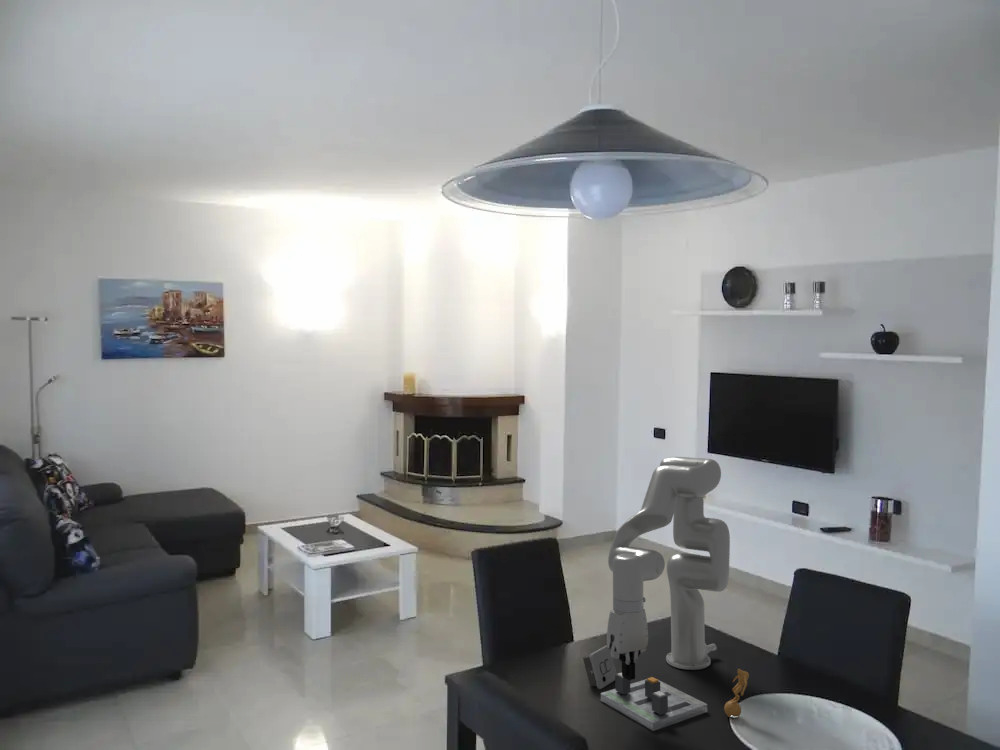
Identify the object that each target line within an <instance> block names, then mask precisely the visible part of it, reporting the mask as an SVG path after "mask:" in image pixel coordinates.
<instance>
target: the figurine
mask: <svg viewBox="0 0 1000 750" xmlns="http://www.w3.org/2000/svg"><path fill="white" fill-rule="evenodd" d="M749 677H750V674H749V672H747V671H745V670H742V669H740V668H738V669H737V675H736V676H735V677H734V679H733V680H732V683H735V681H736V680H737V679H738V682H737V683H736V685H734V687H733V688H731V689H732V692H733V694H734V695H735V697H733V698H731V699H730V700H728V701H726V702H725V704H724V708H723V710H724V713H725V715H726V716H727V717H729V718H731V717H730V716H731V715H733V716H738V717H739V716H740V715H741V713H742V707H741V705H740V704H739V702H738V701H740V696H741V697H743V696H744V693H745V690H746V688H747V686H748V679H749ZM739 693H740V695H739Z"/></svg>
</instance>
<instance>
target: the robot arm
mask: <svg viewBox="0 0 1000 750" xmlns="http://www.w3.org/2000/svg"><path fill="white" fill-rule="evenodd" d="M721 469H722V468H721V466H720V464H719V463H718V462H717V461H716V460H715V459H711V458H700V457H689V456H688V457H687V456H686V457H685V456H668V457H665V458H663V459H662V460H661V461H660V463H659V466H658V467H656V468H655V469H654V470H653V472H652V474H651V478H650V481H649V482H648V483H649V484H648V487H647V490H646V493H645V496H644V500H643V501H642V505H641V508H640V510H639V511H638V512H636V513H635V514H633V515H632V516H631V517H629V518H628V519H627V520H626V521H625V522H624V523H623V524H622V525H621V526H620V527H619V528H618V530H617V531H616V532H615V535H614V538H613V540H612V543H611V545H610V546H611V547H610V548H609V549H610V550H609V552H608V553H609V554H608V558H607V561H608V567H609V570H610V571H611V572H612V609H611V610H610V611H609V615H608V621H607V629H606V630H607V631H606V646H607V648H608V649H610V650H611V653H610V657H612V658H613V660H614V659H616V660H617V659H618V660H619V661H620V662H621V672H622V677H624V678H626V679H628V680H630V681H632V680H635V679H636V663H638V660H639V659H638V658H639V656H640V655H641V654H643V653H644V652H646V650H647V646H648V643H649V629H648V619H647V614H646V609H645V608H644V603H646V597H645V596H644V582H648V581H653V580H657V579H658V578H659V577H661V575H662V574H663V572H664V569H665V565H666V574H667V580H668V585H669V586H668V587H669V594H670V634H671V636H670V637H671V639H670V641H671V642H670V643H671V651H670V652H669V653H667V654H666V656H665V661H666V662H667V664H668V665H670V666H671V667H674V668H675V669H676V668H677V669H682V670H687V671H690V670H691V671H697V670H703V669H706V668H709V666H710V665H711V663H712V662H711V657H710V656H709V655H708V654H709V653H710V652H713V651H716V650H717V645H716V644H715V643H711V644H708V645H707V643H706V641H705V640H706V638H705V637H706V636H705V634H706V633H705V625H706V623H705V601H704V598H703V596H702V594H701V592H700V590H703V591H709V592H716V593H717V592H718V593H719V592H723V591H725V590H726V588H727V587H728V585H729V579H730V556H731V555H730V553H731V551H730V550H731V549H730V548H731V545H730V544H731V543H730V542H731V540H730V539H731V537H730V531H729V527H728V525H727V523H726V522H725V521H723V520H722V519H719V518H715V517H713V518H712V517H706V516H705V513H704V512H705V511H704V505H705V504H704V503H705V501H704V498H703V497H704V496H705V495H707V494H709V493H711V492H713V490H715V489H716V488H717V487H718V485H719V484H720V482H721V478H722V477H721V476H722V470H721ZM672 520H673V522H672ZM671 523H673V525H672V530H673V531H672V533H673V534H672V535H673V537H672V538H673V542H674V543H675V545H676V546H677V547H679V548H681V549H686V550H693V551H702V552H706V553H709V555H701V554H695V553H688V552H680V553H679V552H678V553H674V554H672V555H671V556H669V558H668V560H667V562H666V563H665V558H664V556H663V554H661V553H660V552H658V551H657V550H654V549H646V548H641V547H633V546H630V545H631V544H632V542H633V541H634V540H635V539H637V538H638V537H640V536H642V535H644V534H647V533H649V532H652V531H656V530H658V529H662V528H665V527H667V526H668V525H670V524H671Z"/></svg>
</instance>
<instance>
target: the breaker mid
mask: <svg viewBox="0 0 1000 750" xmlns="http://www.w3.org/2000/svg"><path fill="white" fill-rule="evenodd" d="M646 679H647V680H645V679H644V680H645V696H646V697H648V698H650V699H652V693H655V692H658V691H660V682H659V681H660V680H659V679H657V678H655V677H653V676H651V677H648V678H646ZM658 680H659V681H658Z"/></svg>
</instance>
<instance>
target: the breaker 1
mask: <svg viewBox="0 0 1000 750" xmlns="http://www.w3.org/2000/svg"><path fill="white" fill-rule="evenodd" d="M614 682H615V683H614V684H615V685H614V686H615V688H614V689H615V690H616V691H618V692H620V693H622V694H625V693H629V692H630V684H631V680H628V679H626V678H624V677H622V671H621V672H619V673H617V674H616V675H615V680H614Z"/></svg>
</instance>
